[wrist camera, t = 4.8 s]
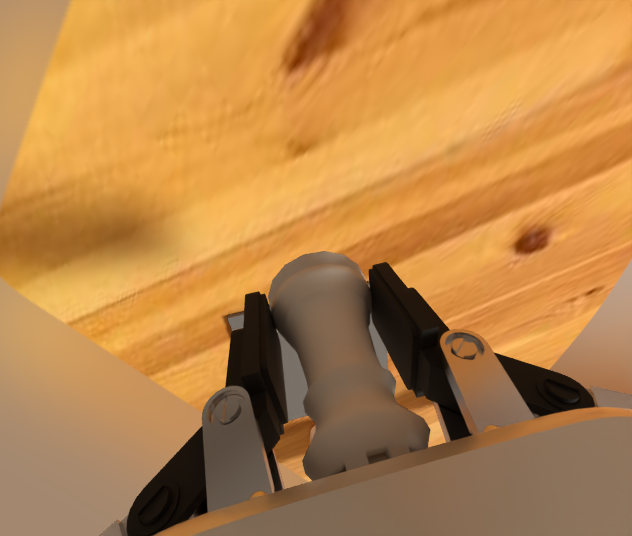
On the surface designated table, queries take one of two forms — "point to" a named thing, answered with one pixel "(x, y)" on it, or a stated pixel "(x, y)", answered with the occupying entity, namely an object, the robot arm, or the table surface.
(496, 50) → the table surface
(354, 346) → the rook chess piece
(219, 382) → the table surface
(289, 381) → the mat
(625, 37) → the table surface
